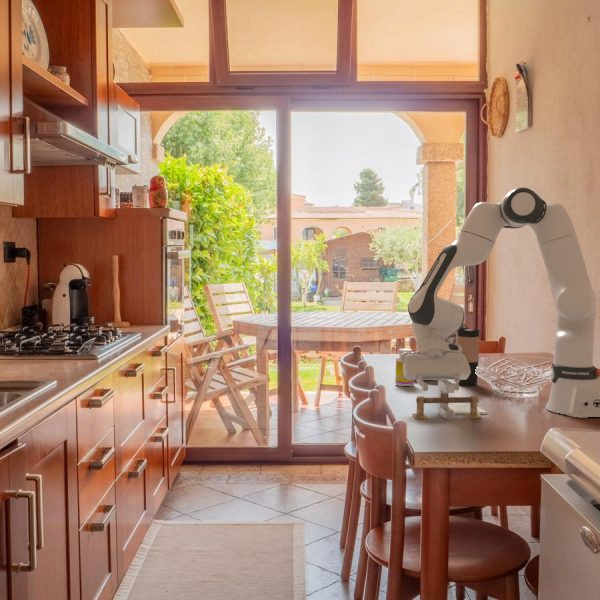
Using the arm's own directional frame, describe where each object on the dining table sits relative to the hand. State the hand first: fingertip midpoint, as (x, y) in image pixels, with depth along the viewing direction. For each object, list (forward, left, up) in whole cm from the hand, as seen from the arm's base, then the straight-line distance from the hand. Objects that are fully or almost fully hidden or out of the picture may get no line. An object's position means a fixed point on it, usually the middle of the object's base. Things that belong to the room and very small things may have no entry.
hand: (441, 389), depth 216 cm
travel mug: (-12, -46, -7) cm, 48 cm away
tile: (-8, -4, -7) cm, 11 cm away
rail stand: (-2, +6, -7) cm, 9 cm away
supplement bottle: (+10, -40, -7) cm, 42 cm away
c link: (-1, +4, -7) cm, 8 cm away
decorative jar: (-10, -107, -7) cm, 108 cm away
